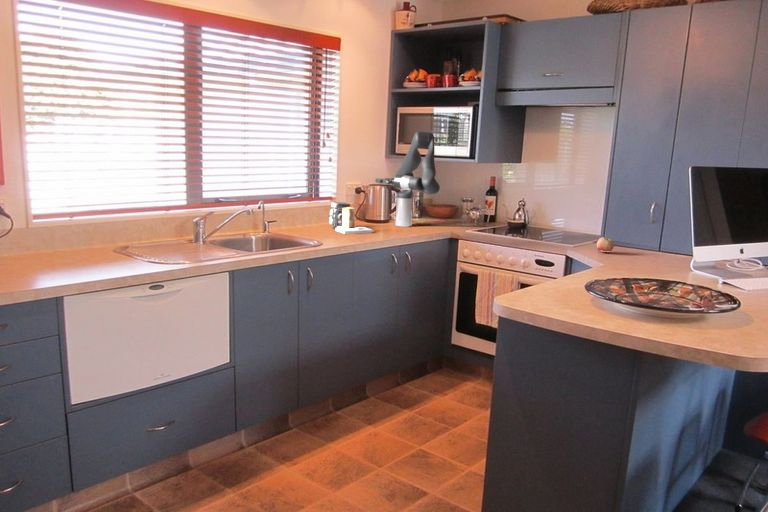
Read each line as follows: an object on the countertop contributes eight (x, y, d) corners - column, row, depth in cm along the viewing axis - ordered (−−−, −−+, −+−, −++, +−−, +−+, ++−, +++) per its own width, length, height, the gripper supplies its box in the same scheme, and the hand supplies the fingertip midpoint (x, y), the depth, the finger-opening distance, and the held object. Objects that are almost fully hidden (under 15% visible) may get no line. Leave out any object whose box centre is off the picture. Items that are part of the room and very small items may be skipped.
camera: (327, 227, 358) (327, 201, 355) (344, 226, 362) (344, 201, 360) (333, 230, 349) (334, 203, 346) (350, 229, 353) (351, 203, 350)
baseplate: (363, 229, 356) (363, 225, 355) (373, 232, 346) (373, 228, 345) (335, 230, 347) (335, 226, 347) (344, 233, 337) (344, 229, 336)
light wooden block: (347, 228, 348) (348, 207, 345) (354, 229, 345) (355, 208, 342) (341, 229, 344) (342, 207, 341) (348, 230, 341) (349, 208, 338)
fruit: (606, 254, 309) (608, 239, 308) (592, 252, 316) (594, 236, 314) (615, 253, 314) (617, 238, 313) (602, 250, 320) (603, 235, 319)
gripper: (412, 175, 331) (388, 172, 341) (397, 175, 320) (372, 173, 329) (411, 188, 333) (387, 186, 342) (396, 190, 321) (372, 187, 331)
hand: (380, 180), depth 336 cm, fingers open, 8 cm apart
